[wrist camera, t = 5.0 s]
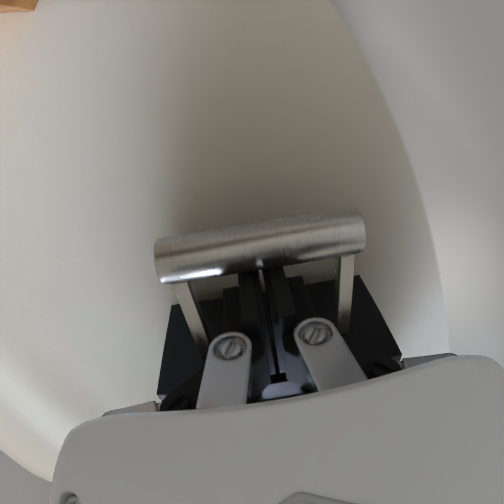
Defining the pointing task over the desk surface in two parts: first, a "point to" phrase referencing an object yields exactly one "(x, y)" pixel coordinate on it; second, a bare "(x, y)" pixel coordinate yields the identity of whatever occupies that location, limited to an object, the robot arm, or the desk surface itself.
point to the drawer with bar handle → (257, 258)
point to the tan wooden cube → (17, 5)
